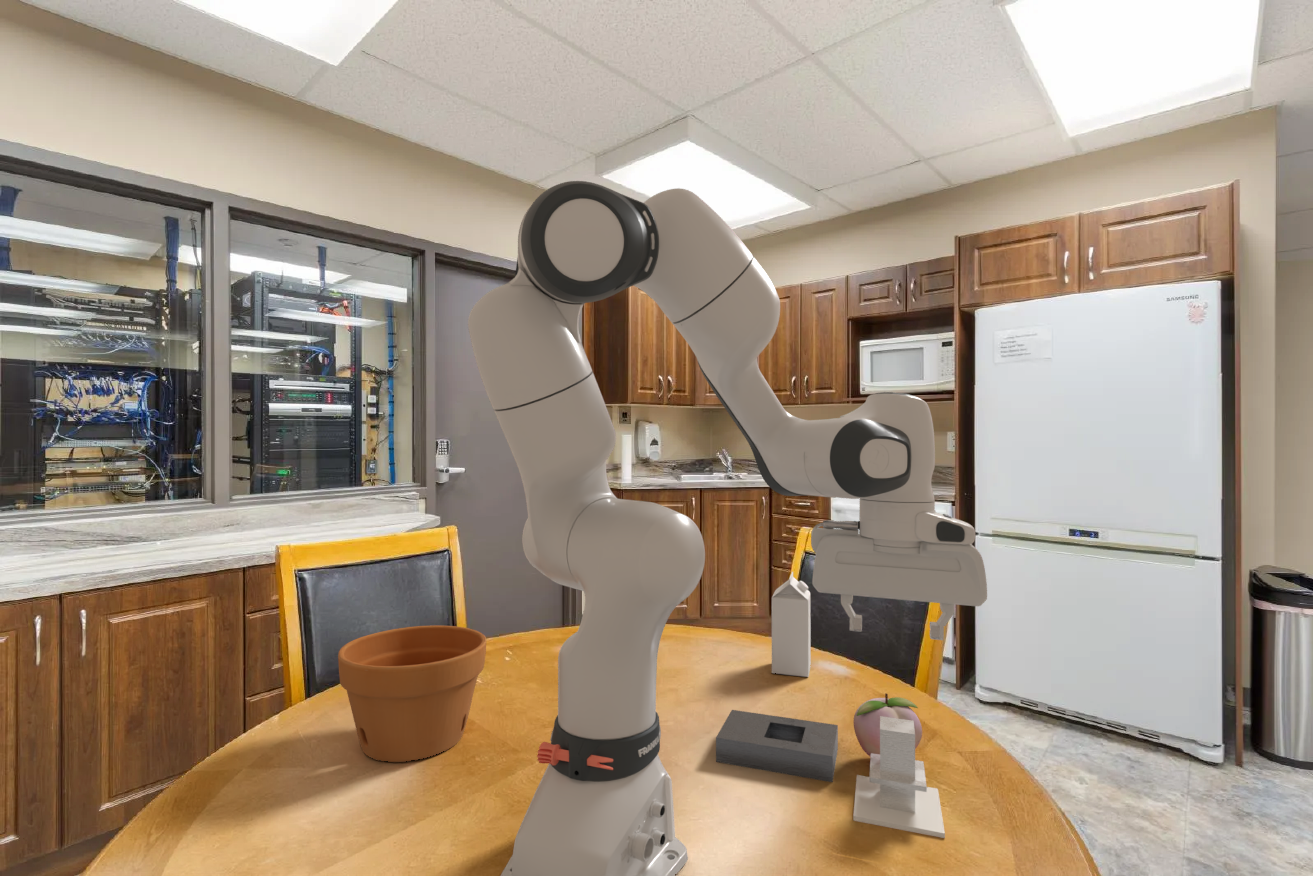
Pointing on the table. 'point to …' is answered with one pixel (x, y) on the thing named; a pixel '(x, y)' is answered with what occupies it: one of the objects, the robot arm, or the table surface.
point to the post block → (778, 745)
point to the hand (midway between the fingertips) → (895, 634)
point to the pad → (921, 821)
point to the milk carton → (791, 629)
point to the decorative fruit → (870, 720)
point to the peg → (897, 765)
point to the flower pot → (411, 688)
